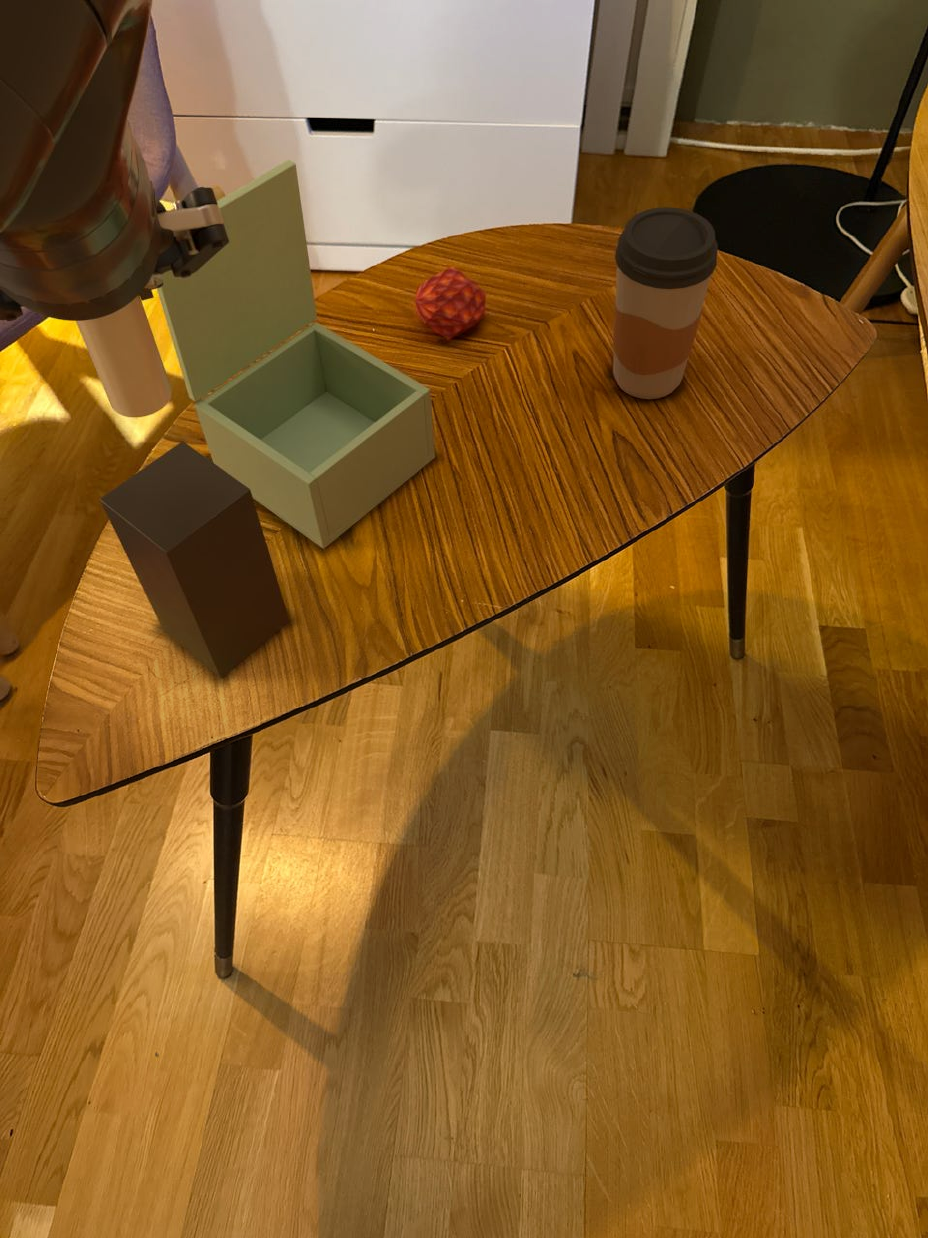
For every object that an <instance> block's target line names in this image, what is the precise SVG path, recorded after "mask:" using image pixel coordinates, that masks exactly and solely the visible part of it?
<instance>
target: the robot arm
mask: <svg viewBox="0 0 928 1238" xmlns="http://www.w3.org/2000/svg"><path fill="white" fill-rule="evenodd" d="M153 2H154V0H0V321H6V322H12V321H17V320H18V318H21V317H22V316H23V315H24V312H23V309H22V307H24V308H26V309H28V310H30V311H31V312H34V313H36V314H39V315H40V316H41V315H42V316H44V317H47V318H51V319H54V320H59V321H69V322H76V321H84V320H92V319H97V318H101V317H104V316H107V315H110V314H112V313H114V312H116V311H118V310H120V309H122V308H123V307H125V306H126V305H128V304H129V303H130V302H131V301H133V300H134V299H135V298H136V297H137V296H138V295H140V298H141V301H142V302H143V301H146V300H151V299H154V298H155V296H154V293H153V291H152V290H157V288H161V287H162V286H163V279H162V276H161V275H162V274H163V273H165V272H167V271H170V270H172V272H173V275H174V277H182V278H186V277H189V276H191V274H193V273H195V272H197V271H198V270H199V269H200V268H201V267H202V266H203V265H204V264H205V263H207V262H208V261H209V260H210V259H211V258H212V257H213V256H214V255H216V254H217V253H218V252H219V251H220V250H221V249H222V248H223V247H224V246H226V245H227V244H228V243H229V239H228V235H227V232H226V229H225V226H224V223H223V220H222V216H221V213H220V210H219V207H218V204H217V201H216V197H215V194H214V191H213V189H212V188H210V187H205V186H199V187H197V188H194V189H193V190H191V191H190V192H188V194H187V195H186V196H185V197H184V198H183V199H182V200H181V199H178V200H175V201H174V202H173V203H172V206H173V208H174V210H172V209H169V210H167V209H166V207H165V205H164V204H163V203H162V202H161V201H160V200H159V199H157V194H156V193H157V192H156V188H155V187H154V184H153V181H152V180H151V179H150V175H149V172H148V166H147V164H146V161H145V159H144V155H143V152H142V150H141V148H140V146H139V144H138V142H137V140H136V137H135V136H134V134H133V133H132V129H131V125H130V122H129V115H130V112H131V109H132V104H133V100H134V97H135V93H136V88H137V84H138V81H139V77H140V72H141V67H142V64H143V57H144V54H145V48H146V43H147V38H148V32H149V29H150V28H149V27H150V21H151V15H152V11H153V10H152V9H153Z"/></svg>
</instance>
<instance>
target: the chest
mask: <svg viewBox="0 0 928 1238" xmlns="http://www.w3.org/2000/svg"><path fill="white" fill-rule="evenodd" d="M193 406H194V408H195V412H196V415H197V418H198V421H199V425H200V427H201V430H202V432H203V436H204V439H205V442H206V445H207V448H208V450H209V454H210V456H211V457H210V458H211V459H212V460H211V461H212V462H213V463H214V464H216V465H217V466H218V467H220V468H221V469H223V470H224V471H225V472H227V473H228V474H229V475H231V476H232V477H234V478H235V479H236V480H238V481H239V482H241V483H242V484H243V485H245V486H246V487H248V488H249V489H250V490H251V494H252V497H253V500H255V501H256V502H258V503H259V504H261V505H262V506H263V507H264V508H266V509H267V510H269V511H270V512H272V513H273V514H275V515H276V516H277V517H279V518H280V519H281V520H283V521H284V522H285V523H286V524H288V525H290V526H291V527H292V528H293V529H295V530H296V531H298V532H299V533H300V534H301V535H303V536H305V537H306V538H307V539H309V540H310V541H312V542H313V543H314V544H316V545H317V546H318V547H320V548H321V549H323V550H325V549H326V548H327V547H328V546H330V545H331V544H332V543H333V542H334V541H336V540H337V539H338V538H339V537H341V536H342V535H343V534H344V533H345V532H346V531H347V530H349V529H350V528H351V527H353V526H354V525H355V524H356V523H358V522H359V521H360V520H361V519H362V518H363V517H365V516H366V515H367V514H368V513H369V512H371V511H372V510H373V509H375V507H377V506H378V505H379V504H381V503H382V502H383V501H384V500H385V499H386V498H388V497H389V496H390V495H392V494H393V493H394V492H395V491H396V490H398V489H399V488H400V487H401V486H402V485H403V484H405V483H406V482H407V481H409V480H410V479H411V478H412V477H413V476H414V475H416V474H417V473H418V472H420V471H421V470H422V469H423V468H424V467H426V466H427V465H428V464H429V463H430V462H432V461H433V460H434V459H435V458H436V451H435V448H436V447H435V435H434V423H433V421H434V420H433V408H432V397H431V388H428V387H427V386H425V385H423V384H422V383H420V382H418V381H417V380H416V379H414V378H412V377H410V376H408V375H407V374H405V373H403V372H401V371H400V370H398V369H396V368H395V367H393V366H391V365H390V364H388V363H386V362H384V361H383V360H381V359H380V358H378V357H376V356H374V355H373V354H371V353H369V352H368V351H366V350H365V349H363V348H361V347H359V346H358V345H356V344H354V343H352V342H351V341H349V340H347V339H346V338H344V337H342V336H341V335H339V334H337V333H336V332H334V331H332V330H331V329H329V328H328V327H325V326H324V325H322V324H320V323H319V322H317V321H313V322H312V323H310V324H309V325H308V326H306V327H304V328H303V329H302V330H300V331H299V332H297V333H296V334H294V335H293V336H291V337H290V338H288V339H287V340H285V341H284V342H283V343H281V344H280V345H278V346H277V347H275V348H274V349H272V350H271V351H269V352H268V353H267V354H265V355H264V356H262V357H261V358H259V359H258V360H256V361H255V362H253V363H252V364H250V365H249V366H248V367H246V368H245V369H243V370H242V371H240V372H239V373H237V374H236V375H234V376H233V377H231V378H230V379H229V380H227V381H226V382H224V383H223V384H221V385H220V386H218V387H217V388H215V389H214V390H212V391H211V392H210V393H208V394H207V395H205V396H204V397H202V398H201V399H199V400H198V401H196V402H195V403H194V404H193Z"/></svg>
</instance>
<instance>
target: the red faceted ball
mask: <svg viewBox="0 0 928 1238" xmlns="http://www.w3.org/2000/svg"><path fill="white" fill-rule="evenodd" d="M486 297H487V294H486V293H485V292H484V291H483V289H482V287H480V286H479V285H478V284H477V282H476V281H474V280H472V279H471V278H470V277H468V275H465V274H464V273H463V272H461V271H460V270H459V269H458V268H457V267H456V266H453V265H451V266H450V267H448V268H446V269H444V270H442V271H440V272H439V273H436V274H435V275H432V276H431V277H429V278H428V279H426V280H425V281H424V282H423V283H422V284H421V285H420V286H419V287H418V288H417V289H416V292H415V298H414V304H415V305H414V306H415V313H416V314H417V316H418V317H419V319H420V320H421V321H422V322H423V323H424V325H426V326H427V327H428V328H430V329H432V330H433V331H435V332H436V333H438V334H439V335H441V336H442V337H443V338H445V339H447V340H448V341H450V340H452V339H453V338H456V337H457V336H460V335H461V334H462V333H464V332H466V331H467V330H469V329H471V328H473V327H474V326H476V324H478V323H479V322H480V321H481V320H482V319H483V318H484V317H485V313H486Z"/></svg>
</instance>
